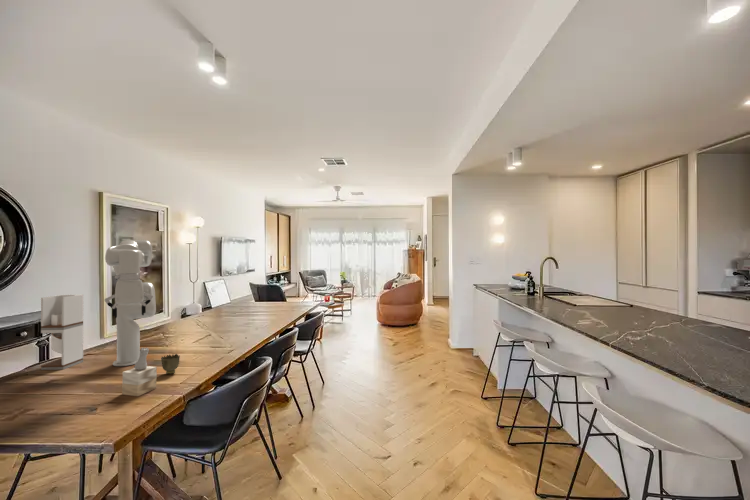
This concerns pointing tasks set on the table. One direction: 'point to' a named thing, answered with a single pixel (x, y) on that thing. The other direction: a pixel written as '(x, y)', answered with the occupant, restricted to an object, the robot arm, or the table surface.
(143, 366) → the rook chess piece
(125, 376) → the tower top
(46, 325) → the display case
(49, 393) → the table surface
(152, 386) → the tower base
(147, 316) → the robot arm
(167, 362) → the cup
